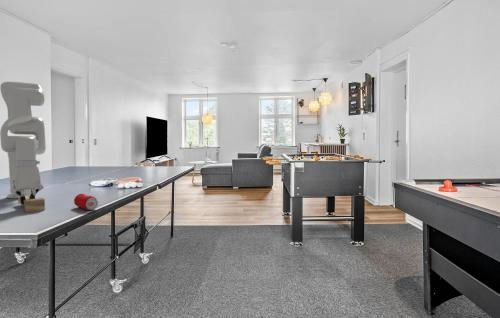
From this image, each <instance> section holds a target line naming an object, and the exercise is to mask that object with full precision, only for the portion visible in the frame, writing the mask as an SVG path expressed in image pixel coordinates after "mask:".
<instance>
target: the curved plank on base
mask: <svg viewBox="0 0 500 318" xmlns="http://www.w3.org/2000/svg"><path fill="white" fill-rule="evenodd" d="M24 196H25V195H24ZM25 198H26V200H24V205H22V204H21V202H20V196H18V198H17V199H18V204H19V205H20V206H22V207H23V211H24V213H26V214H28V213H29V214H30V213H34V212H36V213H37V212H40V211H42V212H43V211H45V210H46V207H45V206H46V203H45V198H43V197H39V198H35V199H30V197H27V196H25Z"/></svg>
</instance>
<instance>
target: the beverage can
mask: <svg viewBox="0 0 500 318" xmlns="http://www.w3.org/2000/svg"><path fill="white" fill-rule="evenodd" d="M73 202H74V205H75V206H76V207H78V208H81V209H84V210H86V211H93V210H95V209H96V208H97V207H98V205H99V201H98V199H97V198H96V197H95V196H92V195H89V194H85V193H78V194H77V195H76V196H75V197H74V200H73Z"/></svg>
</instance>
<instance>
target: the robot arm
mask: <svg viewBox="0 0 500 318" xmlns="http://www.w3.org/2000/svg"><path fill="white" fill-rule="evenodd" d="M0 93H1V96H2V99H3V101H4V103H5V105H6V108H7V119H6V120H5V121H4V122H3V124H2V125H1V127H0V148H1V150H2V151H3V152H5V153H7V157H8V172H9V188H10V189H9V190H10V191H9V194H7V195H6V198H8V199H18V196H20V202H21V204H22V205H24V200H26V198H25V196H27V197H29V198H30V199H36V195H37V194H38V192H40V191H41V190H44V189H45V187H44V186H43V184H42V181H41V175H40V174H41V173H40V170H39V166H38V165H40V163H41V162H40V161H39V160H37V156H39V155H40V156H41V155H43V154H45V152H46V149H47V148H46V147H47V145H46V132H45V131H46V129H45V121H44V120H43V119H42V118H41V117H40V116H39V117H38V116H33V114H32V106H33V107H35V106H36V107H42V106H44V104H45V94H44V91H43V89H42V87H41V85H40V84H38V83H34V82H33V83H31V82H20V81H4V82H2V83H0ZM8 132H10V134H12V135H8ZM27 135H28V136H27ZM24 195H25V196H24ZM22 205H21V206H22Z"/></svg>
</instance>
